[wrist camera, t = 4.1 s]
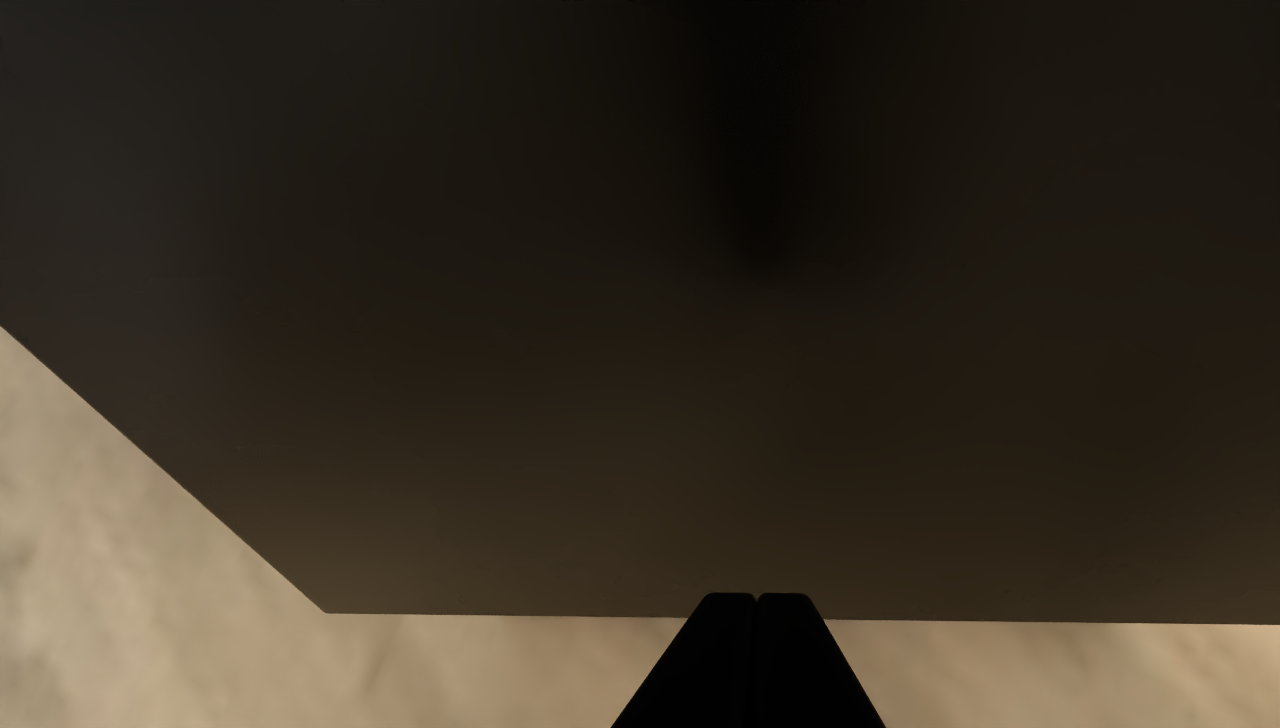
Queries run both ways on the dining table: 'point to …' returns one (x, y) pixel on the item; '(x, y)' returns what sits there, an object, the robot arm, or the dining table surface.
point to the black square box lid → (675, 294)
